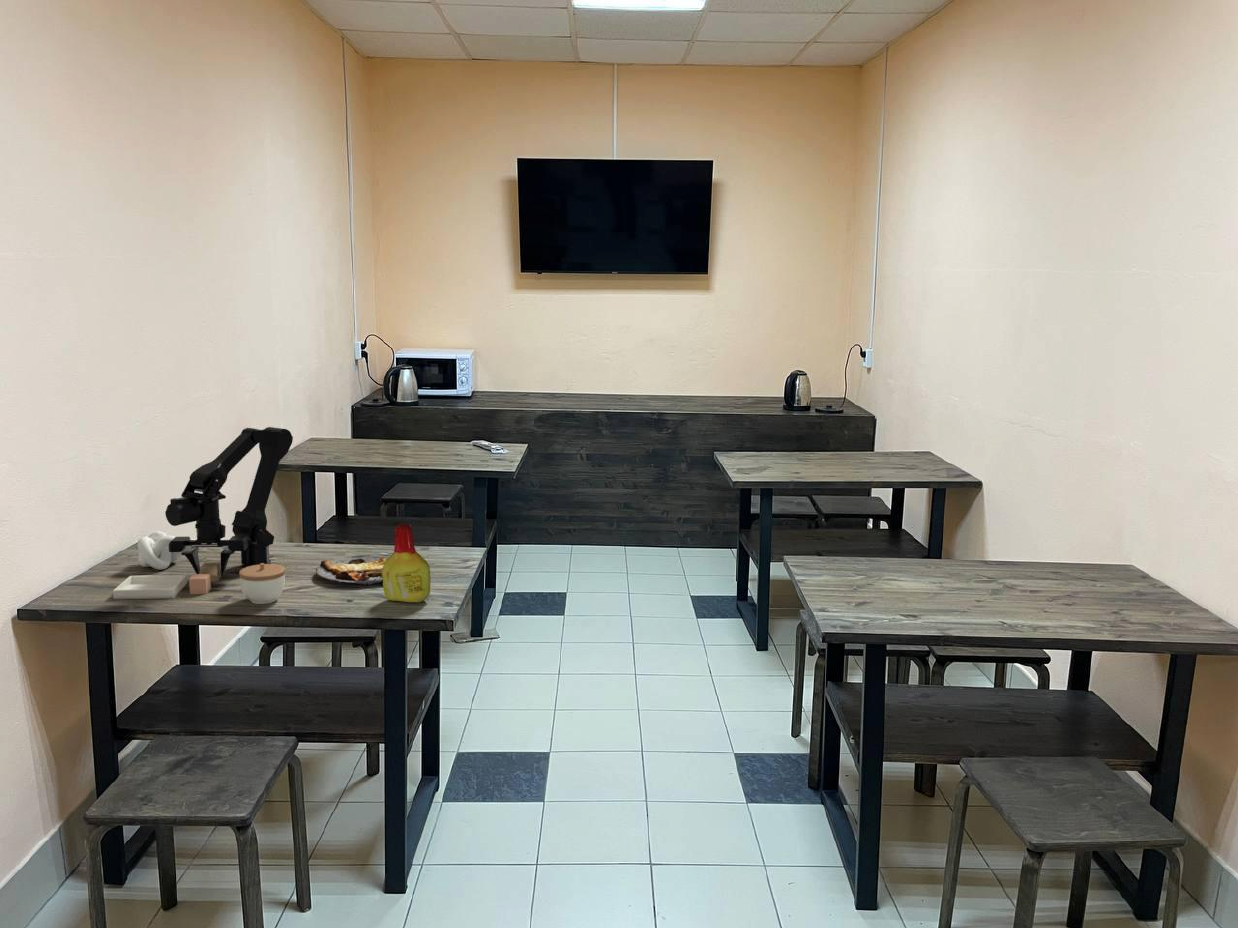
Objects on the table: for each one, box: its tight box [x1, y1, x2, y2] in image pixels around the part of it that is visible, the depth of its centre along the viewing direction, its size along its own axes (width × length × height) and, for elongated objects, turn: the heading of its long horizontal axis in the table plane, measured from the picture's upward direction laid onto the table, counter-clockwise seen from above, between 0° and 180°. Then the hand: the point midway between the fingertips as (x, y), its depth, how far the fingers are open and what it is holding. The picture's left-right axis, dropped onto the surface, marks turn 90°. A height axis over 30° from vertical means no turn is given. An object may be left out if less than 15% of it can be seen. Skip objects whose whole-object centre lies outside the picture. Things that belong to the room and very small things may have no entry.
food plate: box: [315, 554, 391, 586], centre depth 262 cm, size 25×23×4 cm
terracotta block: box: [188, 573, 212, 595], centre depth 244 cm, size 4×4×4 cm
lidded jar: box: [238, 563, 286, 605], centre depth 239 cm, size 11×11×9 cm
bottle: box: [381, 523, 431, 603], centre depth 240 cm, size 12×6×20 cm, turn 83°
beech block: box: [200, 562, 222, 583], centre depth 254 cm, size 4×4×4 cm
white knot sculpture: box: [137, 530, 183, 571], centre depth 263 cm, size 11×12×9 cm
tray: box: [112, 574, 189, 600], centre depth 244 cm, size 14×12×2 cm
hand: (210, 575), depth 254 cm, fingers open, 6 cm apart
